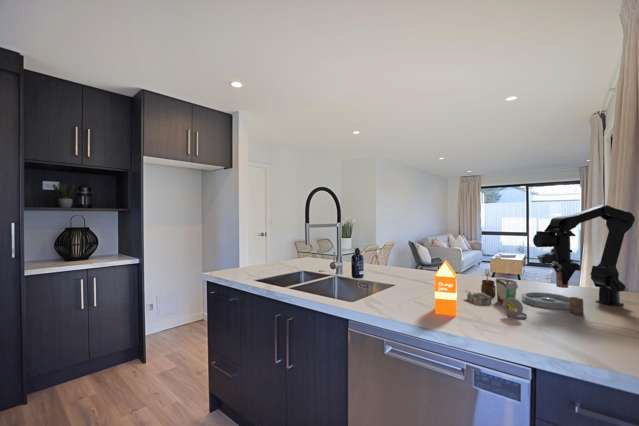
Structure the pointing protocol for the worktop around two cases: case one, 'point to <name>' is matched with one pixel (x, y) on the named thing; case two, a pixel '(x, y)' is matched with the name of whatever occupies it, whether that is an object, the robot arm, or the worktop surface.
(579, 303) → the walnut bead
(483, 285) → the utensil holder
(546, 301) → the groove tray
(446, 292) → the orange juice
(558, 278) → the brown cork stopper
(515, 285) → the food container
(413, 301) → the worktop surface
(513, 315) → the pocket watch
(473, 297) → the egg carton
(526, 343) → the worktop surface
